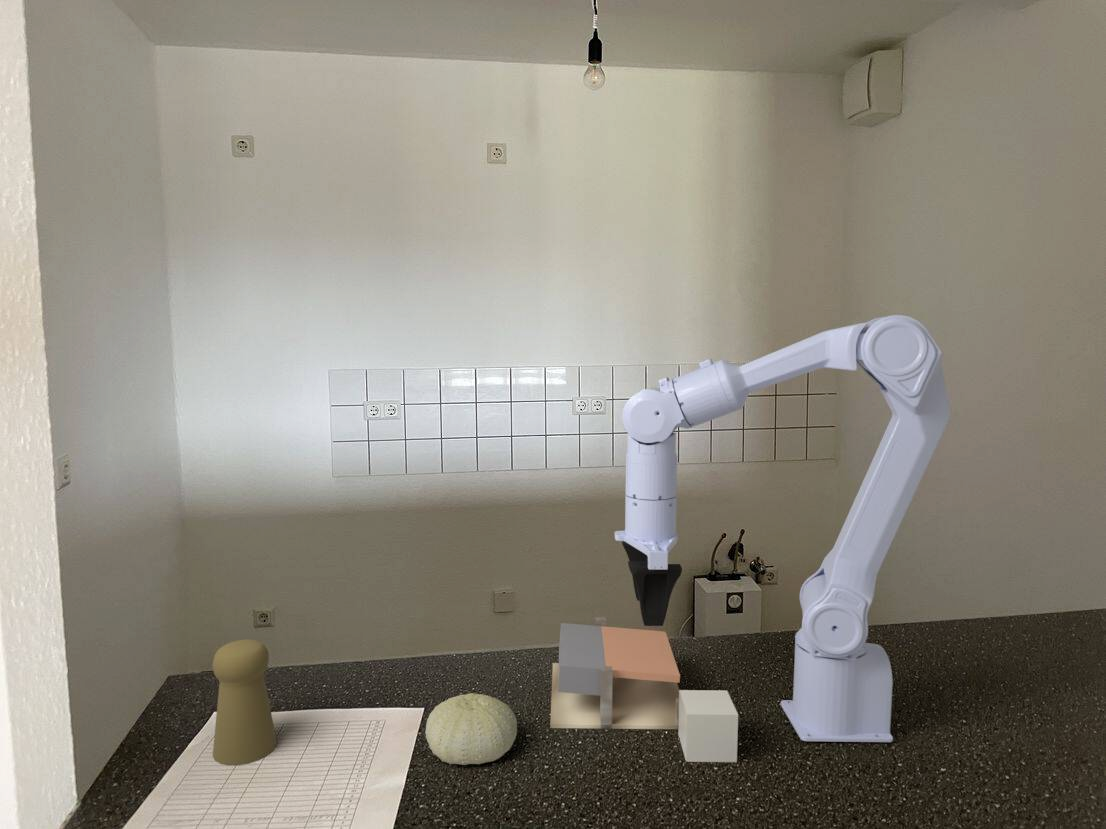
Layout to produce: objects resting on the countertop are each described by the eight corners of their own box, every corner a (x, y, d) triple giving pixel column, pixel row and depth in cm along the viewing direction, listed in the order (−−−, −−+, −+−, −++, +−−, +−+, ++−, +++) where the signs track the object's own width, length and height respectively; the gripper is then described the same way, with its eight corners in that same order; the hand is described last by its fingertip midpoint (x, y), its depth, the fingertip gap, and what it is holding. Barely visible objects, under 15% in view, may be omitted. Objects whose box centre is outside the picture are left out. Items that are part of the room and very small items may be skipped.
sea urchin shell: (512, 760, 71) (455, 697, 71) (457, 807, 72) (401, 746, 73) (534, 712, 79) (482, 656, 80) (484, 755, 81) (434, 701, 82)
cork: (214, 771, 72) (208, 662, 71) (210, 741, 77) (205, 639, 76) (280, 755, 75) (276, 650, 73) (272, 727, 80) (268, 628, 79)
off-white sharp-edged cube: (725, 735, 78) (727, 690, 78) (736, 762, 74) (738, 714, 73) (678, 735, 79) (679, 690, 78) (686, 762, 74) (687, 714, 73)
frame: (671, 666, 94) (671, 617, 94) (690, 729, 79) (691, 671, 79) (552, 665, 95) (552, 616, 94) (550, 728, 80) (550, 669, 79)
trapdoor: (663, 654, 93) (665, 631, 92) (677, 702, 81) (680, 675, 80) (559, 646, 93) (561, 622, 92) (558, 692, 81) (560, 665, 81)
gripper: (611, 482, 91) (610, 589, 92) (620, 509, 77) (618, 637, 78) (668, 482, 91) (667, 590, 92) (688, 510, 76) (686, 637, 78)
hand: (649, 611), depth 85 cm, fingers open, 7 cm apart
